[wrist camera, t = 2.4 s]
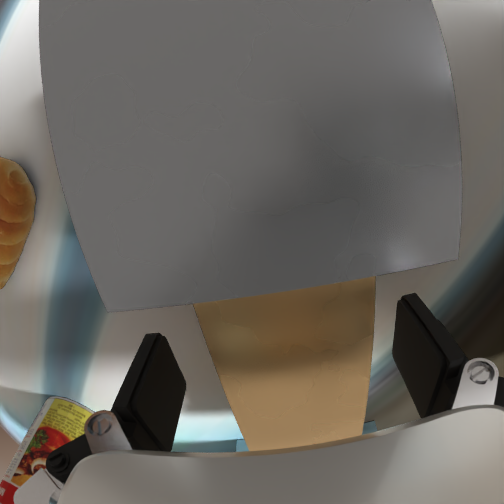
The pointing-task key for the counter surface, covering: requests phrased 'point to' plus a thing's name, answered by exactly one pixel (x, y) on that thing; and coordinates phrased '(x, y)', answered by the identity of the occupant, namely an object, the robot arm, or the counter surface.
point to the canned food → (43, 441)
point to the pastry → (14, 215)
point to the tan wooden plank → (294, 361)
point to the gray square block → (251, 143)
